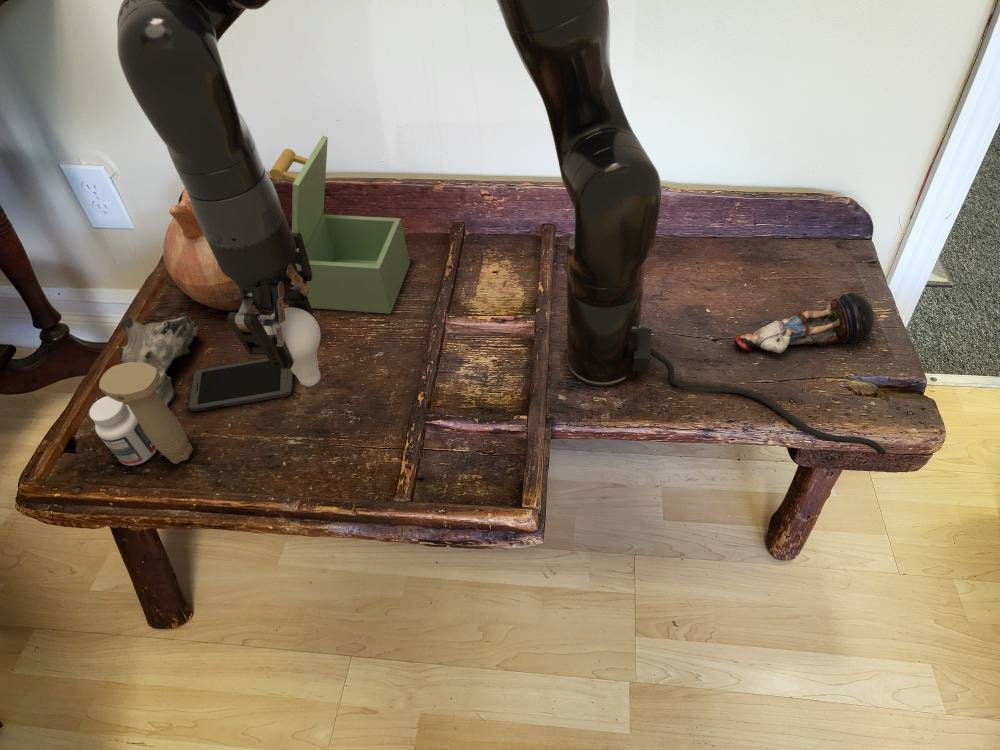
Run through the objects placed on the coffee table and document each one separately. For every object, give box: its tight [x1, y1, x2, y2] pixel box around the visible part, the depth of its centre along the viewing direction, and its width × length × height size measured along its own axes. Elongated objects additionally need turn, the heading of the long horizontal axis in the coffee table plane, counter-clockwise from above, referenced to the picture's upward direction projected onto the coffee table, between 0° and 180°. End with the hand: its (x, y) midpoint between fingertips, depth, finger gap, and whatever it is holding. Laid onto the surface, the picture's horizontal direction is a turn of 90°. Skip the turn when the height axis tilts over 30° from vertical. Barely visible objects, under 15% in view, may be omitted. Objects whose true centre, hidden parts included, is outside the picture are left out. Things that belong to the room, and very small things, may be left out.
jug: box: [162, 187, 243, 312], centre depth 108 cm, size 18×18×20 cm
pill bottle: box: [88, 395, 158, 467], centre depth 92 cm, size 5×5×9 cm
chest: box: [295, 213, 411, 314], centre depth 110 cm, size 13×12×9 cm
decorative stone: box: [118, 312, 200, 408], centre depth 101 cm, size 16×9×10 cm, turn 178°
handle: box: [98, 362, 194, 465], centre depth 88 cm, size 5×6×15 cm
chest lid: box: [269, 135, 329, 246], centre depth 102 cm, size 14×12×5 cm
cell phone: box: [188, 357, 294, 413], centre depth 101 cm, size 7×14×1 cm, turn 99°
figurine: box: [734, 292, 875, 354], centre depth 98 cm, size 8×7×18 cm
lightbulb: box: [264, 306, 322, 387], centre depth 82 cm, size 6×6×11 cm
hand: (295, 343), depth 81 cm, fingers closed on lightbulb, 6 cm apart
